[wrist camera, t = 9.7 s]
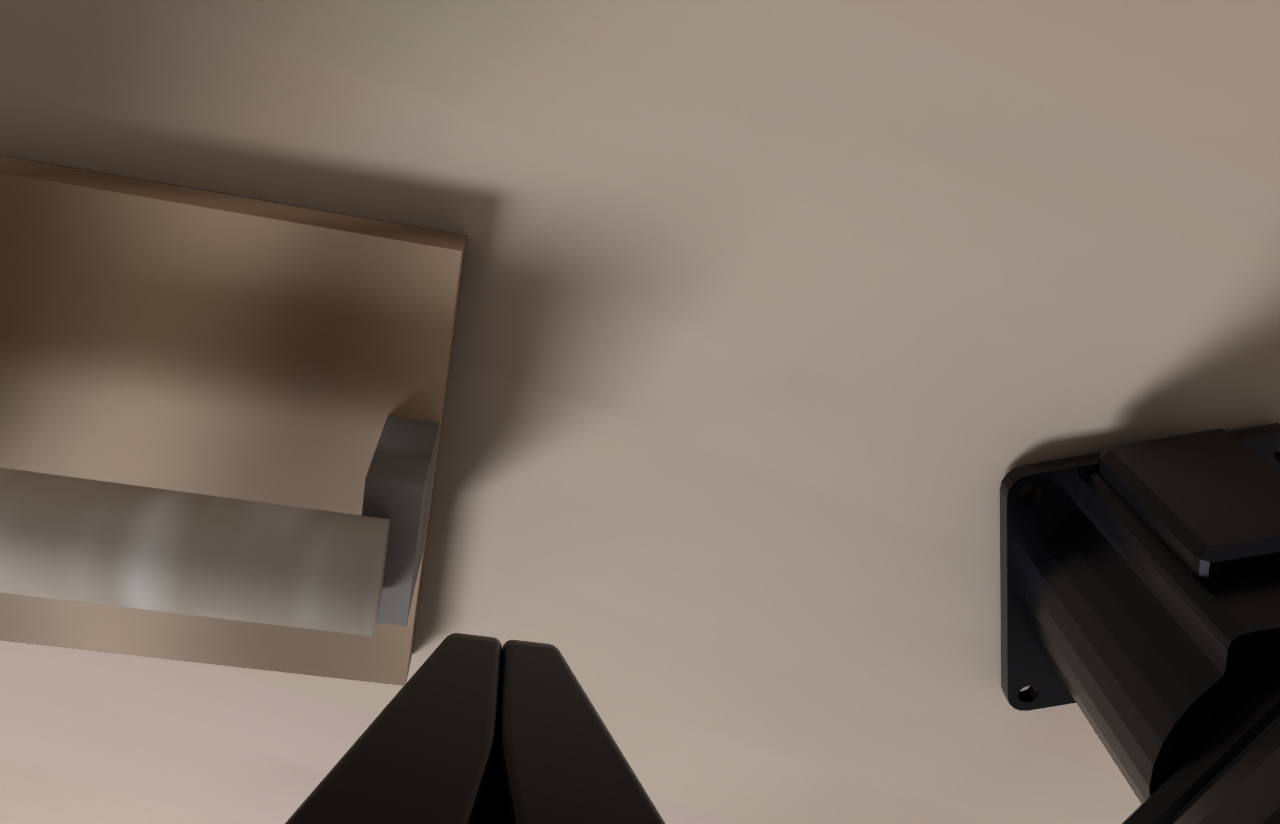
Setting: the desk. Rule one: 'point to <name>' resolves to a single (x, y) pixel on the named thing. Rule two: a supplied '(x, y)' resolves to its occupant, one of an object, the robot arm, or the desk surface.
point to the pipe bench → (216, 423)
